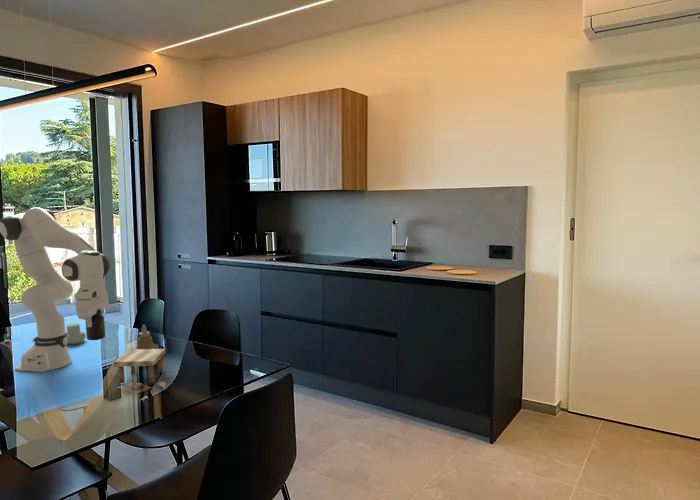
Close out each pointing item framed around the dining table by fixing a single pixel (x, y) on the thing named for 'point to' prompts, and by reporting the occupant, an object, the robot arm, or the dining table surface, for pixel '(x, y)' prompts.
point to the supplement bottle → (96, 327)
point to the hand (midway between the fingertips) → (94, 323)
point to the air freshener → (74, 334)
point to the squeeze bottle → (144, 339)
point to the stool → (140, 361)
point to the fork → (161, 384)
